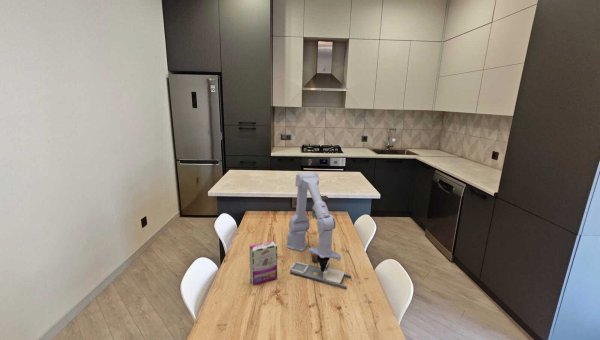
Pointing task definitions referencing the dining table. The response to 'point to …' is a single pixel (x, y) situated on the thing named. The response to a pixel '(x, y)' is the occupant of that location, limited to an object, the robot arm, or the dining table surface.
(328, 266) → the cover
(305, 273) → the board
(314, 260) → the peg
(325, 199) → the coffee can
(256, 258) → the candy bar box
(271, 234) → the dining table surface
